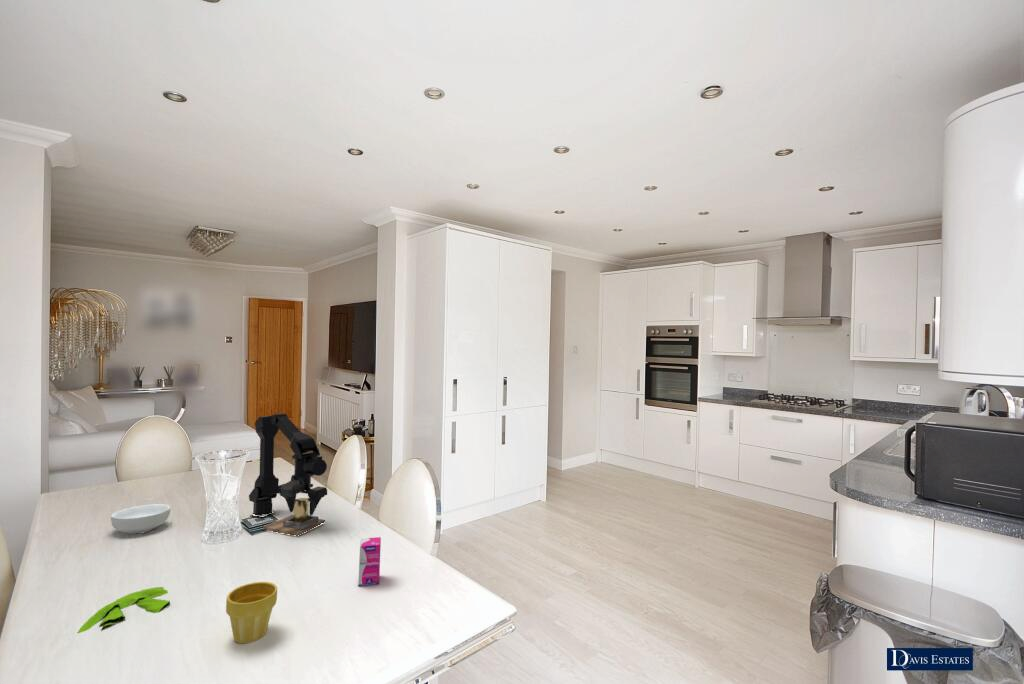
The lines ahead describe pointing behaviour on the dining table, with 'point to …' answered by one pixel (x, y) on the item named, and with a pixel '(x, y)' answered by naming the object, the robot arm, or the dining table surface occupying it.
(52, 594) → the dining table surface
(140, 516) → the cereal bowl
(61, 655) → the dining table surface
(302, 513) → the solid brass cylinder
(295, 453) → the robot arm
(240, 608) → the plant pot
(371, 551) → the supplement box
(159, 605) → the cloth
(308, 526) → the jig
